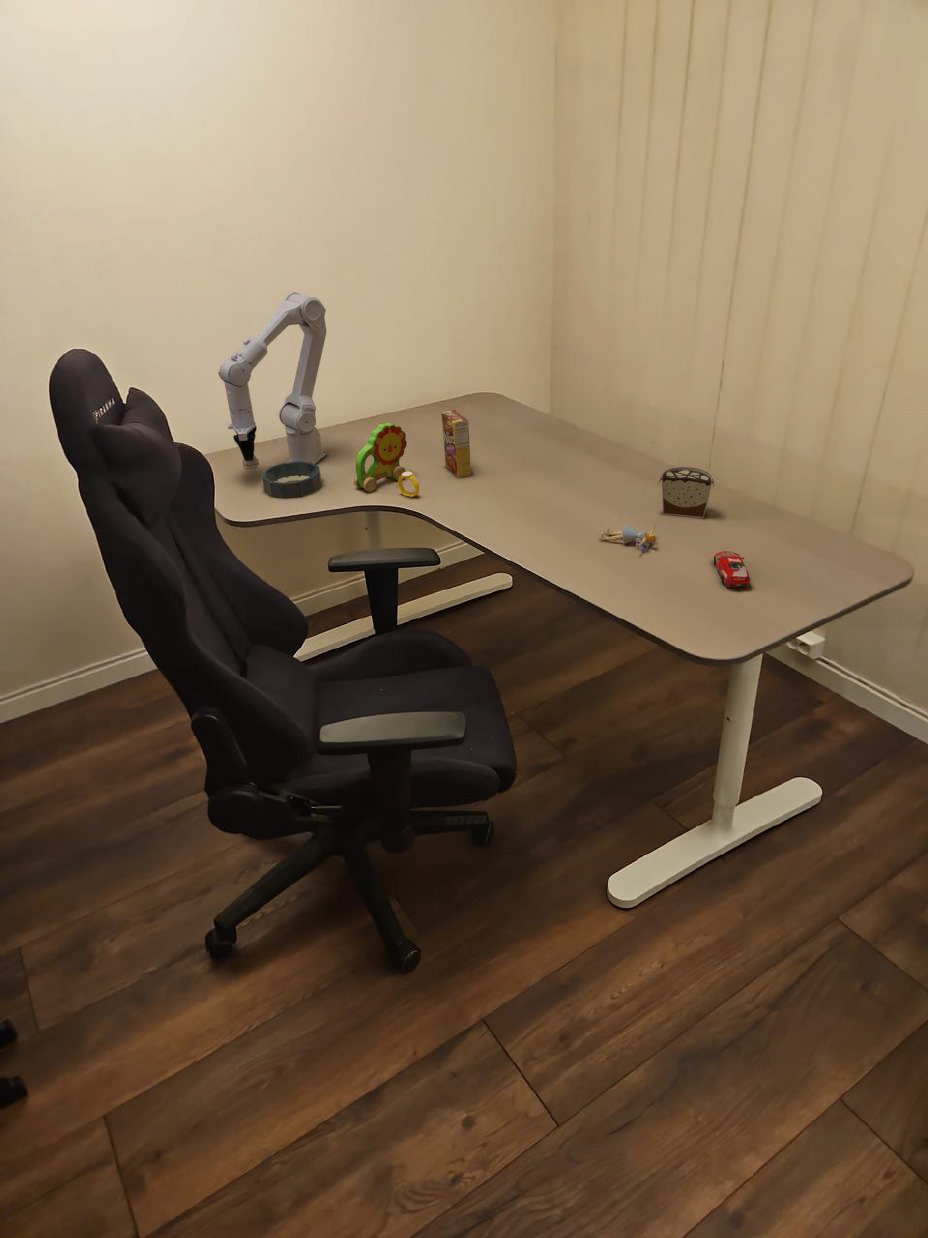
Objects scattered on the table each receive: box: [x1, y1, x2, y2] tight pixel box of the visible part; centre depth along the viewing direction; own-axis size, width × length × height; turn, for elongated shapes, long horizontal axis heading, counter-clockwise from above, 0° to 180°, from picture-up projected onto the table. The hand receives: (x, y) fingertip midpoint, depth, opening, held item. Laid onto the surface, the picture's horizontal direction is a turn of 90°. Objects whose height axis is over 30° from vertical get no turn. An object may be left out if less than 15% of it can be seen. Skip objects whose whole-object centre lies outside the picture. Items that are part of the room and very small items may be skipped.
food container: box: [659, 466, 715, 519], centre depth 206 cm, size 12×6×10 cm, turn 71°
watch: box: [397, 471, 420, 498], centre depth 221 cm, size 6×3×6 cm, turn 53°
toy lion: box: [353, 422, 408, 493], centre depth 227 cm, size 16×5×15 cm, turn 134°
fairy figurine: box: [600, 524, 657, 553], centre depth 195 cm, size 12×5×12 cm
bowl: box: [261, 461, 322, 499], centre depth 230 cm, size 15×15×4 cm
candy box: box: [441, 409, 472, 479], centre depth 231 cm, size 9×4×15 cm, turn 23°
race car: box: [713, 550, 751, 588], centre depth 181 cm, size 13×5×4 cm, turn 177°
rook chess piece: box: [241, 454, 260, 470], centre depth 233 cm, size 4×4×8 cm
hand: (249, 457), depth 234 cm, fingers closed on rook chess piece, 3 cm apart
